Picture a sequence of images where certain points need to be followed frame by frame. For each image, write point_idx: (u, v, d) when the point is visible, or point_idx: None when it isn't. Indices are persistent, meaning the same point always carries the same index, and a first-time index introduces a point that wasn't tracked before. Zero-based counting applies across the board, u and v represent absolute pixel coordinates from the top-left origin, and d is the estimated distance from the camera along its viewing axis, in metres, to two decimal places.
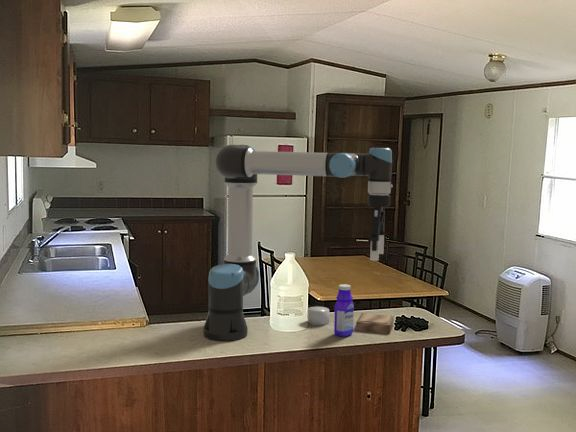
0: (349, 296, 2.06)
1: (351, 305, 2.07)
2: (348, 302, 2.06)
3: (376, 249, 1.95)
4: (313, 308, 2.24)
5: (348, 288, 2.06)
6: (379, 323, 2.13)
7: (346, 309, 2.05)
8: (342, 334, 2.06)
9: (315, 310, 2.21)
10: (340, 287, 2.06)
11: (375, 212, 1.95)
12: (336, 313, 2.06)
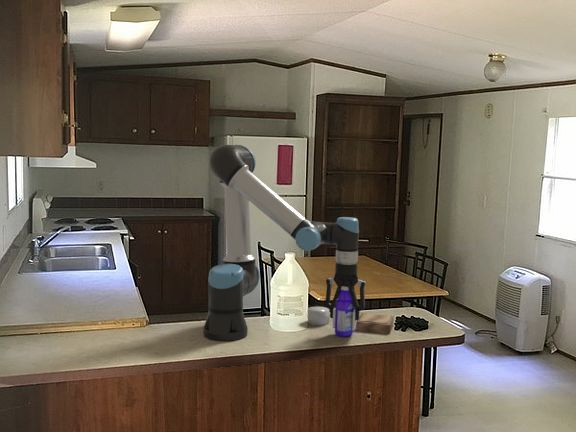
0: (350, 296, 2.06)
1: (352, 305, 2.06)
2: (349, 302, 2.05)
3: (331, 316, 2.09)
4: (313, 308, 2.24)
5: None
6: (379, 323, 2.13)
7: (347, 309, 2.05)
8: (343, 334, 2.06)
9: (315, 310, 2.21)
10: (341, 287, 2.06)
11: None
12: (336, 313, 2.06)
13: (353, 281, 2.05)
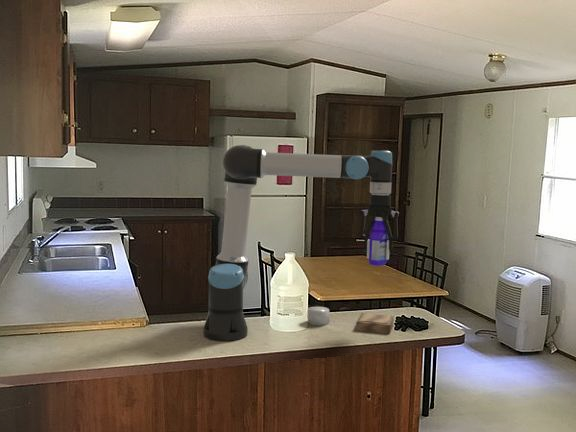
0: (384, 226, 2.13)
1: (386, 235, 2.14)
2: (383, 232, 2.13)
3: (365, 247, 2.16)
4: (313, 308, 2.24)
5: None
6: (379, 323, 2.13)
7: (381, 238, 2.12)
8: (377, 263, 2.13)
9: (315, 310, 2.21)
10: (375, 218, 2.13)
11: None
12: (371, 243, 2.14)
13: (387, 212, 2.12)
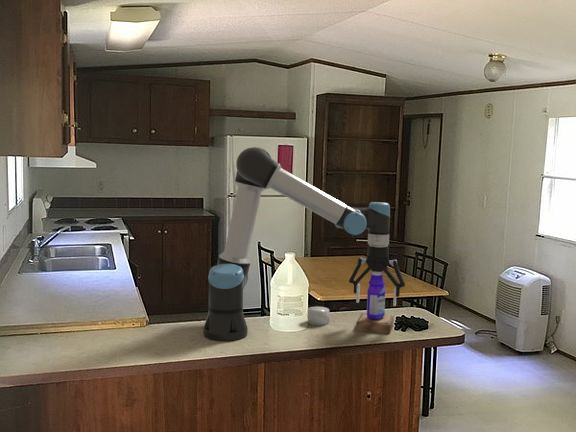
0: (381, 281, 2.16)
1: (383, 290, 2.16)
2: (381, 287, 2.15)
3: (355, 292, 2.19)
4: (313, 308, 2.24)
5: (380, 273, 2.15)
6: (379, 323, 2.13)
7: (379, 293, 2.14)
8: (375, 317, 2.15)
9: (315, 310, 2.21)
10: (373, 272, 2.16)
11: None
12: (369, 297, 2.16)
13: (385, 263, 2.14)
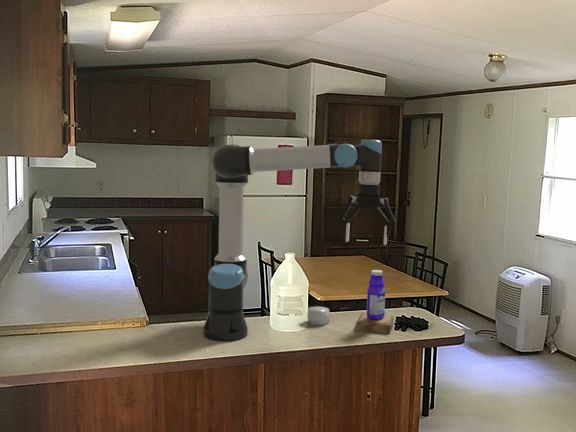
0: (381, 281, 2.16)
1: (383, 290, 2.16)
2: (380, 287, 2.15)
3: (344, 230, 2.17)
4: (313, 308, 2.24)
5: (380, 273, 2.15)
6: (379, 323, 2.13)
7: (379, 293, 2.14)
8: (375, 317, 2.15)
9: (315, 310, 2.21)
10: (373, 272, 2.16)
11: None
12: (369, 297, 2.16)
13: (376, 201, 2.12)
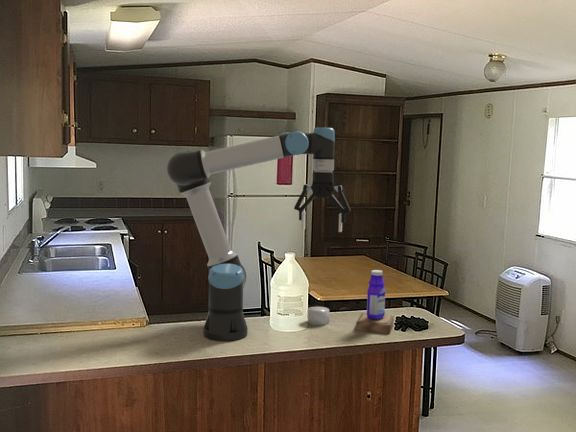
0: (381, 281, 2.16)
1: (383, 290, 2.16)
2: (380, 287, 2.15)
3: (300, 219, 2.17)
4: (313, 308, 2.24)
5: (380, 273, 2.15)
6: (379, 323, 2.13)
7: (379, 293, 2.14)
8: (375, 317, 2.15)
9: (315, 310, 2.21)
10: (373, 272, 2.16)
11: None
12: (369, 297, 2.16)
13: (330, 189, 2.13)
